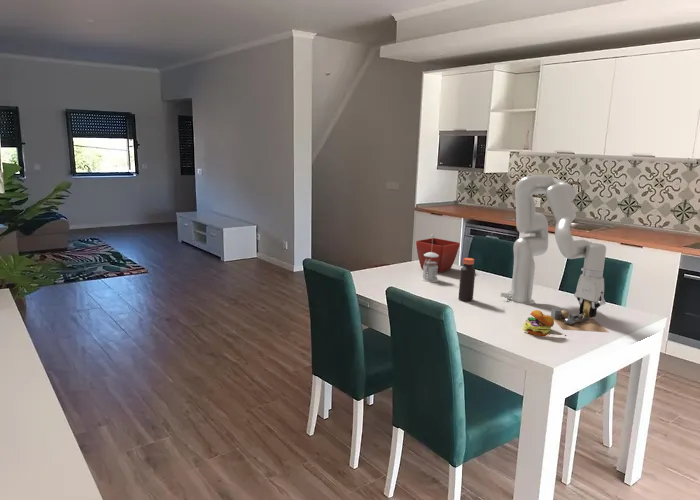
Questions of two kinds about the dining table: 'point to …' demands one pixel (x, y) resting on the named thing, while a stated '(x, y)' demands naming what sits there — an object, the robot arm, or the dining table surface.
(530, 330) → the cheeseburger
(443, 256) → the plant pot
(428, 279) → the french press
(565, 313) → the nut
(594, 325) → the board
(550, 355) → the dining table surface
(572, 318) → the lever
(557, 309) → the anvil
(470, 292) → the bottle
